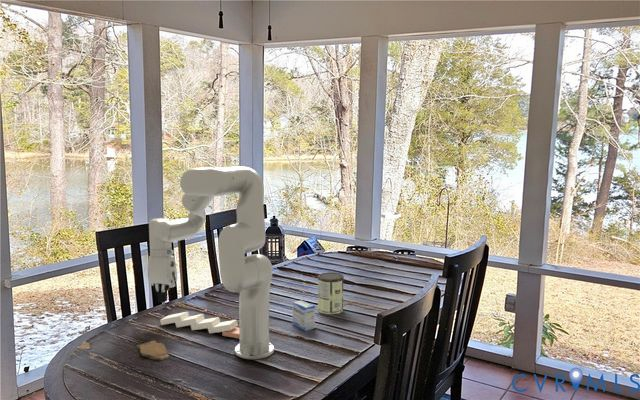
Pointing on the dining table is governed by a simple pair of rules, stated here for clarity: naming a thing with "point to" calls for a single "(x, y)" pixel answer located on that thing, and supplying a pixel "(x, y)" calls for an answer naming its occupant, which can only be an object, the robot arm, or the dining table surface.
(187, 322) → the domino
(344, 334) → the dining table surface
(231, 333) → the terracotta domino
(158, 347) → the pottery shard
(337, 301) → the coffee can
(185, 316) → the domino far
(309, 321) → the medicine box
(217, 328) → the domino
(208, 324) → the domino
